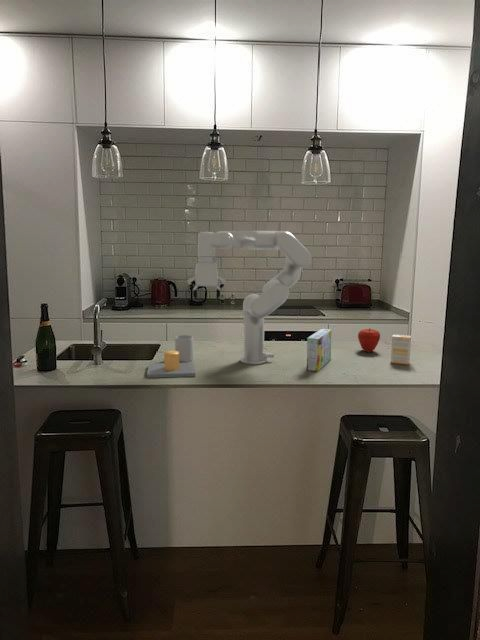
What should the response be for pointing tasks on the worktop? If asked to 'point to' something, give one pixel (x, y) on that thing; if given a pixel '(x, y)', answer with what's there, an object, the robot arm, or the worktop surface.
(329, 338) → the snack box
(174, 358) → the orange cylinder
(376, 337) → the apple
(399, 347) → the supplement box
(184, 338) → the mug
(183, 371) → the base
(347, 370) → the worktop surface
